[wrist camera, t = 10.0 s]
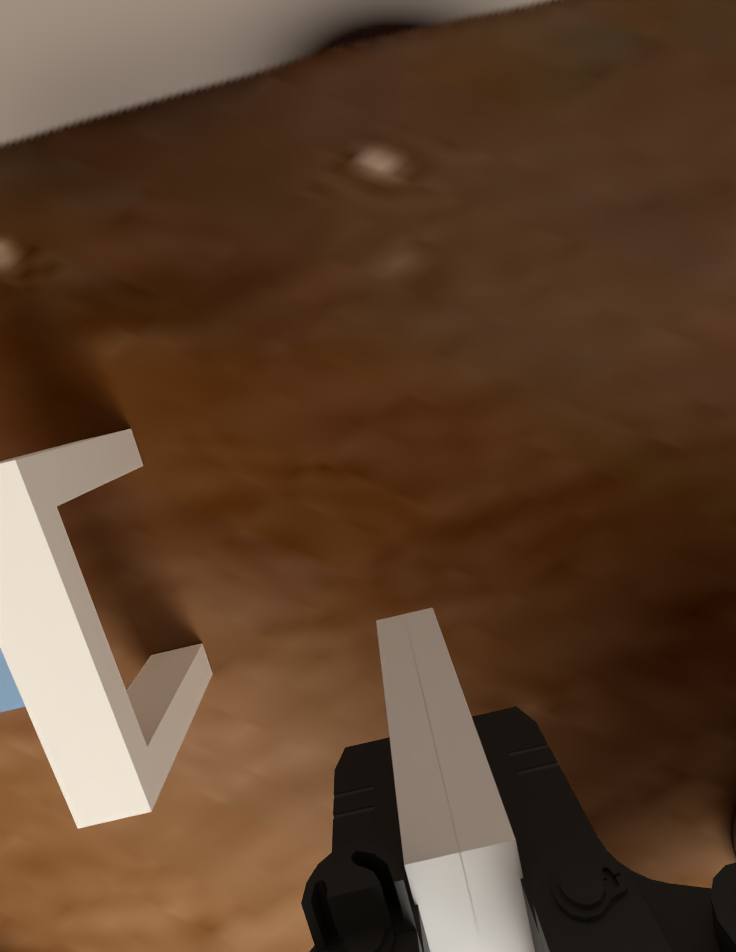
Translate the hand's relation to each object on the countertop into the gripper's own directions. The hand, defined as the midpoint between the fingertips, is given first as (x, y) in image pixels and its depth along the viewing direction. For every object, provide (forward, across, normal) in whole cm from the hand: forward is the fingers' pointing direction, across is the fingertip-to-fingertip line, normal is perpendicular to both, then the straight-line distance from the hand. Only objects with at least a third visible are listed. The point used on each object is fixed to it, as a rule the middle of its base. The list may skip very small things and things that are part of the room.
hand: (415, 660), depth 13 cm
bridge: (+14, +13, 0) cm, 19 cm away
